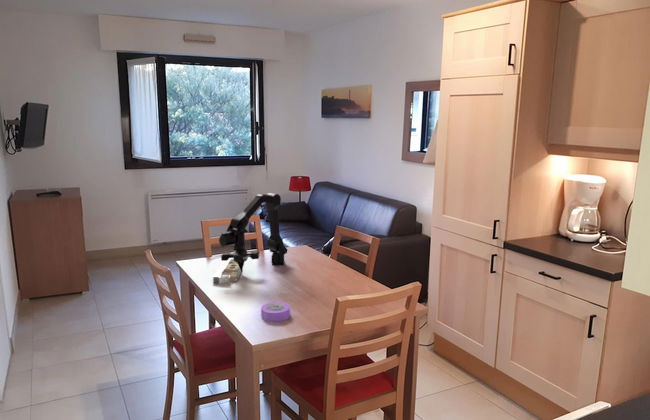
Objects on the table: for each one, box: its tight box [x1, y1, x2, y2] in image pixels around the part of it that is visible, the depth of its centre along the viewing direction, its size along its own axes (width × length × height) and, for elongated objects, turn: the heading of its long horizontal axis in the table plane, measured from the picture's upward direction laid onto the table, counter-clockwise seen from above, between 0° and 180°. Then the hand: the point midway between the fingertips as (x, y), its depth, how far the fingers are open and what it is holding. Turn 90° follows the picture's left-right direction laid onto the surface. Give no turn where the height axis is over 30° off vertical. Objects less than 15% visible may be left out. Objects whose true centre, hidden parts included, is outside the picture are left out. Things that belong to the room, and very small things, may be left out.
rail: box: [212, 258, 237, 286], centre depth 245 cm, size 8×31×4 cm, turn 1°
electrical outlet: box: [222, 264, 242, 283], centre depth 244 cm, size 7×4×18 cm
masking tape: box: [260, 301, 291, 323], centre depth 196 cm, size 12×12×4 cm
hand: (241, 271), depth 245 cm, fingers closed
